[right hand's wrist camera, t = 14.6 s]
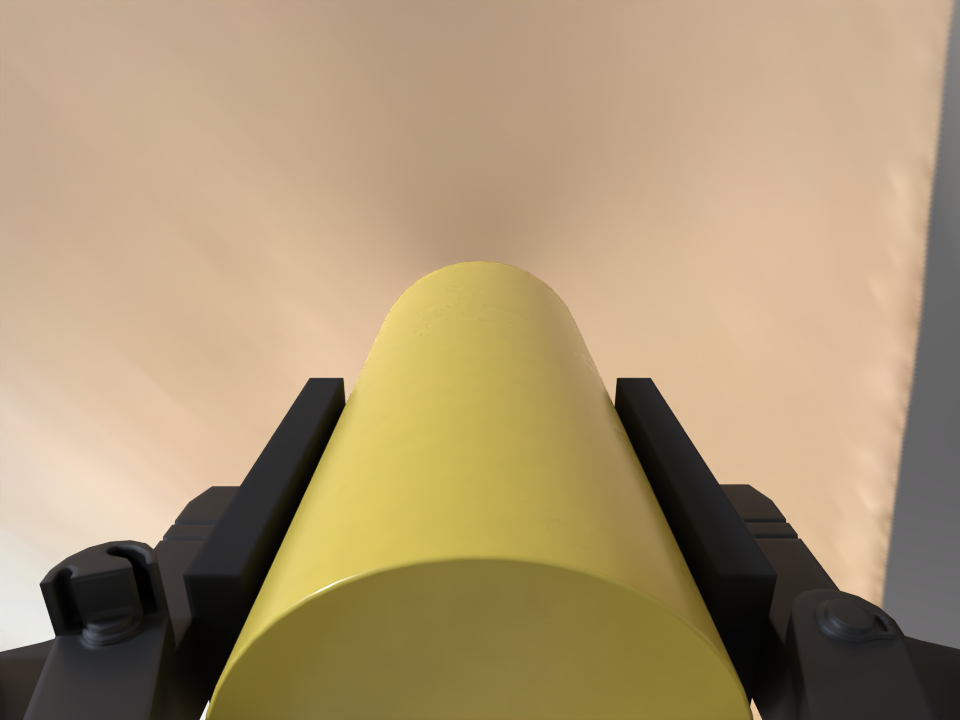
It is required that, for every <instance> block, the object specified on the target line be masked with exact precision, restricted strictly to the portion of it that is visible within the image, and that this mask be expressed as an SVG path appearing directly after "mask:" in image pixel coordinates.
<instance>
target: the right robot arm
mask: <svg viewBox="0 0 960 720" xmlns="http://www.w3.org/2000/svg"><path fill="white" fill-rule="evenodd" d="M345 405H346V403H345V392H344V380H343V378H309V380H308V382H307V383H306V385H305V386H304V388H303V389H302V391H301V392H300V394H299V396H298V397H297V399H296V400H295V402H294V403H293V405H292V406H291V408H290V410H289V411H288V413H287V414H286V416H285V417H284V419H283V420H282V422H281V423H280V425H279V427H278V428H277V430H276V431H275V433H274V434H273V436H272V437H271V439H270V441H269V442H268V444H267V445H266V447H265V448H264V450H263V451H262V453H261V454H260V456H259V458H258V459H257V461H256V462H255V464H254V465H253V467H252V468H251V470H250V472H249V473H248V475H247V476H246V478H245V479H244V481H243V482H242V484H241V486H212V487H211V488H209V489H208V490H206V491H205V492H203V493H202V494H200V495H199V496H198V497H196V498H195V499H193V500H192V501H190V502H189V503H188V504H187V506H186V507H185V508H184V510H183V511H182V512H181V514H180V515H179V516H178V518H177V519H176V520H175V525H172V526H171V527H170V528H169V530H168V531H167V532H166V534H165V535H164V536H163V541H160V542H159V543H158V544H157V546H156V547H155V548H154V549H152V548H151V547H150V546H149V545H148V544H146V543H141V542H137V541H132V540H127V541H113V542H108V543H104V544H100V545H96V546H93V547H89V548H87V549H85V550H82V551H80V552H78V553H76V554H74V555H72V556H70V557H67V558H66V559H65V560H63V561H62V562H61V563H59V564H58V565H57V566H55V567H54V568H52V569H51V570H50V571H49V572H48V574H47V575H46V576H45V578H44V579H43V580H42V581H41V583H40V587H41V591H42V594H43V597H44V600H45V603H46V607H47V610H48V613H49V616H50V619H51V623H52V626H53V629H54V632H55V635H56V637H55V639H52V640H49V641H45V642H42V643H38V644H33V645H29V646H25V647H20V648H16V649H12V650H7V651H3V652H0V720H200V718H201V715H202V713H203V711H204V709H205V707H206V705H207V702H208V700H209V703H210V702H211V699H212V696H213V693H214V690H215V688H216V685H217V683H218V681H219V679H220V676H221V674H222V672H223V670H224V668H225V666H226V663H227V661H228V659H229V657H230V655H231V653H232V650H233V648H234V646H235V644H236V642H237V640H238V637H239V635H240V633H241V631H242V629H243V627H244V624H245V622H246V620H247V618H248V616H249V614H250V611H251V609H252V607H253V605H254V603H255V601H256V598H257V596H258V594H259V592H260V590H261V588H262V585H263V583H264V581H265V579H266V577H267V575H268V572H269V570H270V568H271V566H272V564H273V562H274V559H275V557H276V555H277V553H278V551H279V549H280V546H281V544H282V542H283V540H284V538H285V536H286V533H287V531H288V529H289V527H290V525H291V523H292V520H293V518H294V516H295V514H296V512H297V510H298V507H299V505H300V503H301V501H302V499H303V497H304V494H305V492H306V490H307V488H308V486H309V483H310V481H311V479H312V477H313V475H314V473H315V470H316V468H317V466H318V464H319V462H320V460H321V457H322V455H323V453H324V451H325V449H326V447H327V444H328V442H329V440H330V438H331V436H332V434H333V431H334V429H335V427H336V425H337V423H338V421H339V418H340V416H341V414H342V412H343V410H344V408H345ZM615 409H616V411H617V414H618V416H619V418H620V420H621V422H622V425H623V427H624V429H625V431H626V433H627V435H628V438H629V440H630V442H631V444H632V446H633V448H634V451H635V453H636V455H637V457H638V459H639V462H640V464H641V466H642V468H643V470H644V472H645V475H646V477H647V479H648V481H649V483H650V485H651V488H652V490H653V492H654V494H655V496H656V499H657V501H658V503H659V505H660V507H661V509H662V512H663V514H664V516H665V518H666V520H667V522H668V525H669V527H670V529H671V531H672V533H673V535H674V538H675V540H676V542H677V544H678V546H679V549H680V551H681V553H682V555H683V557H684V559H685V562H686V564H687V566H688V568H689V570H690V572H691V575H692V577H693V579H694V581H695V583H696V586H697V588H698V590H699V592H700V594H701V596H702V599H703V601H704V603H705V605H706V607H707V609H708V612H709V614H710V616H711V618H712V620H713V623H714V625H715V627H716V629H717V631H718V633H719V636H720V638H721V640H722V642H723V644H724V646H725V649H726V651H727V653H728V655H729V657H730V660H731V662H732V664H733V666H734V668H735V670H736V673H737V675H738V677H739V679H740V681H741V683H742V686H743V688H744V691H745V694H746V696H747V699H748V702H749V705H751V700H752V698H753V701H754V703H755V705H756V707H757V709H758V711H759V714H760V716H761V718H762V720H960V649H956V648H952V647H947V646H943V645H938V644H934V643H929V642H925V641H921V640H917V639H914V638H910V637H907V636H905V635H904V634H903V632H902V631H901V629H900V628H899V626H898V625H897V623H896V622H895V620H893V619H892V618H891V617H890V616H889V615H888V614H886V613H885V612H884V611H883V610H882V609H880V608H879V607H878V606H876V605H874V604H872V603H870V602H868V601H866V600H864V599H863V598H861V597H859V596H856V595H853V594H849V593H846V592H843V591H840V590H839V589H838V587H837V586H836V585H835V583H834V582H833V581H832V579H831V578H830V577H829V575H828V574H827V573H826V572H825V570H824V569H823V568H822V566H821V565H820V564H819V562H818V561H817V560H816V558H815V557H814V556H813V554H812V553H811V552H810V550H809V549H808V548H807V546H806V545H805V544H804V542H803V541H802V540H801V539H798V534H797V533H796V532H795V530H794V529H793V528H792V526H791V525H790V524H789V523H786V518H785V517H784V516H783V515H782V513H781V512H780V511H779V509H778V508H777V507H776V505H775V504H774V503H773V501H772V500H770V499H769V498H768V497H766V496H765V495H763V494H762V493H760V492H759V491H757V490H756V489H754V488H753V487H752V486H750V485H749V484H719V483H718V482H717V480H716V479H715V477H714V476H713V474H712V472H711V471H710V469H709V468H708V466H707V465H706V463H705V462H704V460H703V459H702V457H701V455H700V454H699V452H698V451H697V449H696V448H695V446H694V445H693V443H692V441H691V440H690V438H689V437H688V435H687V434H686V432H685V431H684V429H683V428H682V426H681V424H680V423H679V421H678V420H677V418H676V417H675V415H674V414H673V412H672V410H671V409H670V407H669V406H668V404H667V403H666V401H665V400H664V398H663V396H662V395H661V393H660V392H659V390H658V389H657V387H656V386H655V384H654V383H653V381H652V379H651V378H617V384H616V396H615Z"/></svg>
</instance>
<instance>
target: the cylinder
mask: <svg viewBox="0 0 960 720" xmlns="http://www.w3.org/2000/svg"><path fill="white" fill-rule="evenodd" d="M206 720H753V714H752V711H751V708H750V705H749V702H748V699H747V696H746V694H745V691H744V688H743V686H742V683H741V681H740V679H739V677H738V675H737V673H736V670H735V668H734V666H733V664H732V662H731V660H730V657H729V655H728V653H727V651H726V649H725V646H724V644H723V642H722V640H721V638H720V636H719V633H718V631H717V629H716V627H715V625H714V623H713V620H712V618H711V616H710V614H709V612H708V609H707V607H706V605H705V603H704V601H703V599H702V596H701V594H700V592H699V590H698V588H697V586H696V583H695V581H694V579H693V577H692V575H691V572H690V570H689V568H688V566H687V564H686V562H685V559H684V557H683V555H682V553H681V551H680V549H679V546H678V544H677V542H676V540H675V538H674V535H673V533H672V531H671V529H670V527H669V525H668V522H667V520H666V518H665V516H664V514H663V512H662V509H661V507H660V505H659V503H658V501H657V499H656V496H655V494H654V492H653V490H652V488H651V485H650V483H649V481H648V479H647V477H646V475H645V472H644V470H643V468H642V466H641V464H640V462H639V459H638V457H637V455H636V453H635V451H634V448H633V446H632V444H631V442H630V440H629V438H628V435H627V433H626V431H625V429H624V427H623V425H622V422H621V420H620V418H619V416H618V414H617V411H616V409H615V407H614V405H613V403H612V401H611V398H610V396H609V394H608V392H607V390H606V388H605V385H604V383H603V381H602V379H601V377H600V374H599V372H598V370H597V368H596V366H595V364H594V361H593V359H592V357H591V355H590V353H589V351H588V348H587V346H586V344H585V342H584V340H583V337H582V335H581V333H580V331H579V329H578V327H577V324H576V322H575V320H574V318H573V316H572V314H571V313H570V311H569V309H568V307H567V306H566V305H565V303H564V302H563V301H562V299H561V298H560V297H559V296H558V295H557V294H556V293H555V292H554V291H553V290H552V289H551V288H550V287H549V286H548V285H547V284H545V283H544V282H543V281H541V280H540V279H539V278H537V277H535V276H533V275H532V274H530V273H528V272H526V271H523V270H521V269H519V268H516V267H513V266H510V265H506V264H502V263H496V262H488V261H472V262H464V263H457V264H454V265H450V266H446V267H443V268H441V269H438V270H436V271H433V272H431V273H430V274H428V275H426V276H424V277H423V278H421V279H419V280H418V281H417V282H415V283H414V284H413V285H411V286H410V287H409V288H408V289H407V290H406V291H405V292H404V293H403V294H402V295H401V296H400V297H399V298H398V300H397V301H396V302H395V304H394V305H393V306H392V308H391V310H390V312H389V313H388V315H387V317H386V319H385V321H384V323H383V325H382V327H381V330H380V332H379V334H378V336H377V338H376V340H375V343H374V345H373V347H372V349H371V351H370V353H369V356H368V358H367V360H366V362H365V364H364V366H363V369H362V371H361V373H360V375H359V377H358V379H357V382H356V384H355V386H354V388H353V390H352V392H351V395H350V397H349V399H348V401H347V403H346V405H345V408H344V410H343V412H342V414H341V416H340V418H339V421H338V423H337V425H336V427H335V429H334V431H333V434H332V436H331V438H330V440H329V442H328V444H327V447H326V449H325V451H324V453H323V455H322V457H321V460H320V462H319V464H318V466H317V468H316V470H315V473H314V475H313V477H312V479H311V481H310V483H309V486H308V488H307V490H306V492H305V494H304V497H303V499H302V501H301V503H300V505H299V507H298V510H297V512H296V514H295V516H294V518H293V520H292V523H291V525H290V527H289V529H288V531H287V533H286V536H285V538H284V540H283V542H282V544H281V546H280V549H279V551H278V553H277V555H276V557H275V559H274V562H273V564H272V566H271V568H270V570H269V572H268V575H267V577H266V579H265V581H264V583H263V585H262V588H261V590H260V592H259V594H258V596H257V598H256V601H255V603H254V605H253V607H252V609H251V611H250V614H249V616H248V618H247V620H246V622H245V624H244V627H243V629H242V631H241V633H240V635H239V637H238V640H237V642H236V644H235V646H234V648H233V650H232V653H231V655H230V657H229V659H228V661H227V663H226V666H225V668H224V670H223V672H222V674H221V676H220V679H219V681H218V683H217V685H216V688H215V690H214V693H213V696H212V699H211V702H210V704H209V707H208V710H207V714H206Z"/></svg>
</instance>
